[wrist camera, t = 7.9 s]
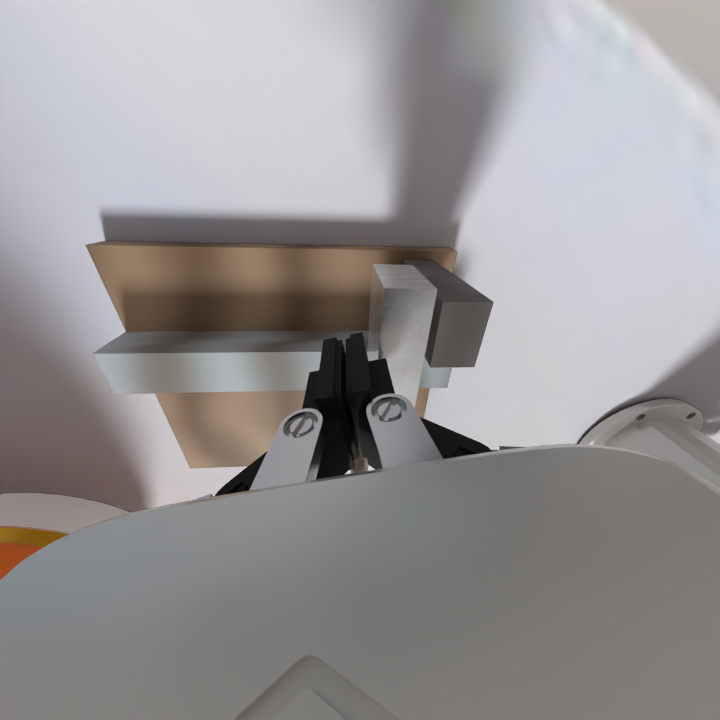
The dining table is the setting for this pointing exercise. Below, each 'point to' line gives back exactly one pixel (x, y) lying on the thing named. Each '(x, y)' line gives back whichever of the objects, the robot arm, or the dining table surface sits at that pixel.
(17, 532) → the potted cactus
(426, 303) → the bar
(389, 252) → the frame
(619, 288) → the dining table surface
